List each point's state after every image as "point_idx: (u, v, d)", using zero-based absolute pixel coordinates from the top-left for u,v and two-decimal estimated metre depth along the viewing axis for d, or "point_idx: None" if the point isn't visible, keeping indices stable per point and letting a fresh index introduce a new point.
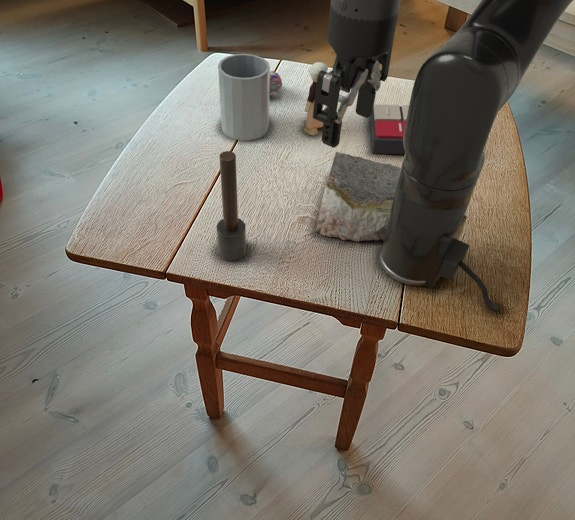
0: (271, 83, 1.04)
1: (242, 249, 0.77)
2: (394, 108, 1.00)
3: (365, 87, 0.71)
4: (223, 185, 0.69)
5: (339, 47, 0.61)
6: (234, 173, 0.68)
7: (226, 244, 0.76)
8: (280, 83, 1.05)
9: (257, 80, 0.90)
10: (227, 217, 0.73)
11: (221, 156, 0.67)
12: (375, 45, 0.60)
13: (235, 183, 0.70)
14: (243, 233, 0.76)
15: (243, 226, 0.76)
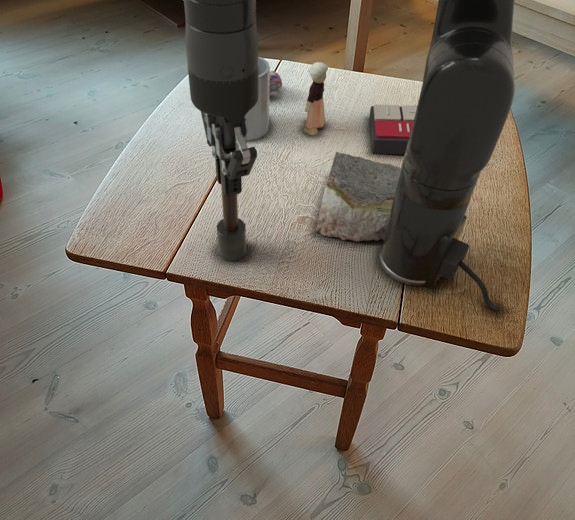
0: (271, 83, 1.04)
1: (242, 249, 0.77)
2: (394, 108, 1.00)
3: None
4: None
5: (231, 111, 0.58)
6: None
7: (226, 244, 0.76)
8: (280, 83, 1.05)
9: None
10: (227, 217, 0.73)
11: None
12: (257, 92, 0.60)
13: None
14: (243, 233, 0.75)
15: (243, 226, 0.76)
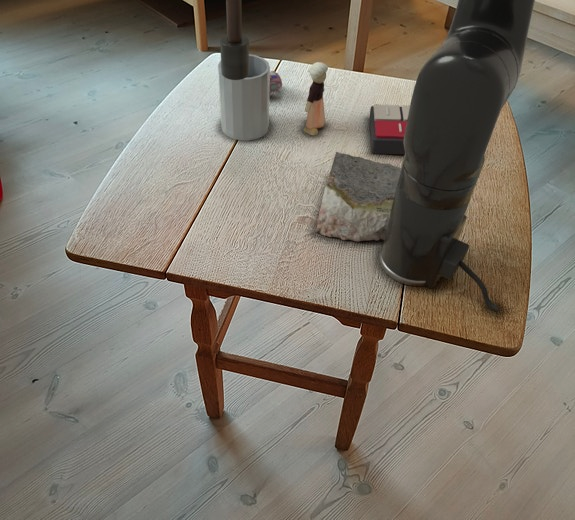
0: (271, 83, 1.04)
1: (245, 66, 0.78)
2: (394, 108, 1.00)
3: None
4: None
5: None
6: None
7: (230, 57, 0.76)
8: (280, 83, 1.05)
9: (257, 80, 0.90)
10: (231, 25, 0.74)
11: None
12: None
13: None
14: (247, 46, 0.76)
15: (246, 40, 0.76)
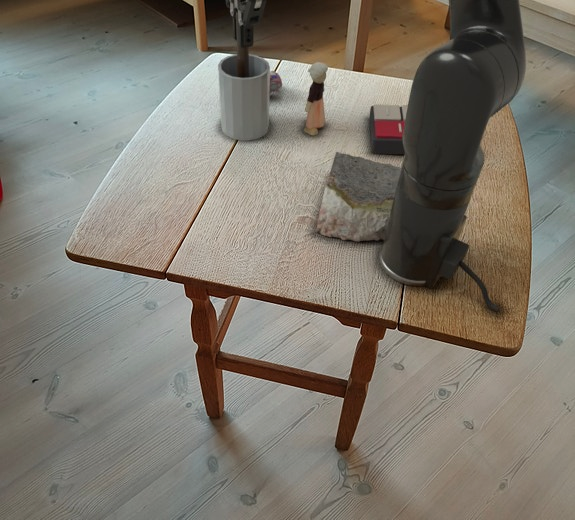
0: (271, 83, 1.04)
1: None
2: (394, 108, 1.00)
3: None
4: (238, 39, 0.88)
5: None
6: None
7: None
8: (280, 83, 1.05)
9: (257, 80, 0.90)
10: (240, 71, 0.92)
11: (237, 12, 0.85)
12: None
13: None
14: None
15: None
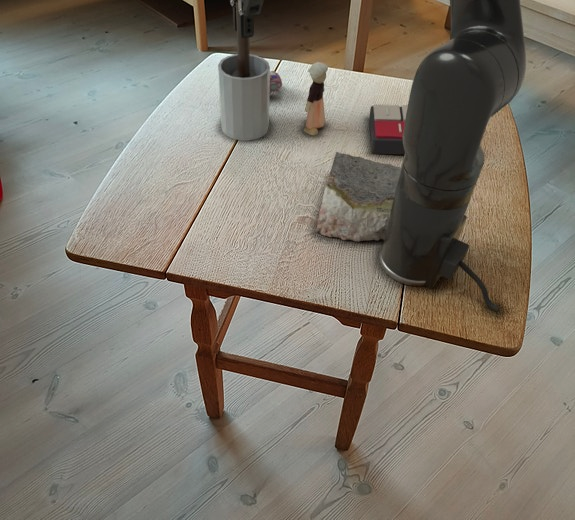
0: (271, 83, 1.04)
1: None
2: (394, 108, 1.00)
3: None
4: (238, 29, 0.87)
5: None
6: None
7: None
8: (280, 83, 1.05)
9: (257, 80, 0.90)
10: (241, 62, 0.91)
11: (237, 1, 0.84)
12: None
13: None
14: None
15: (254, 74, 0.93)
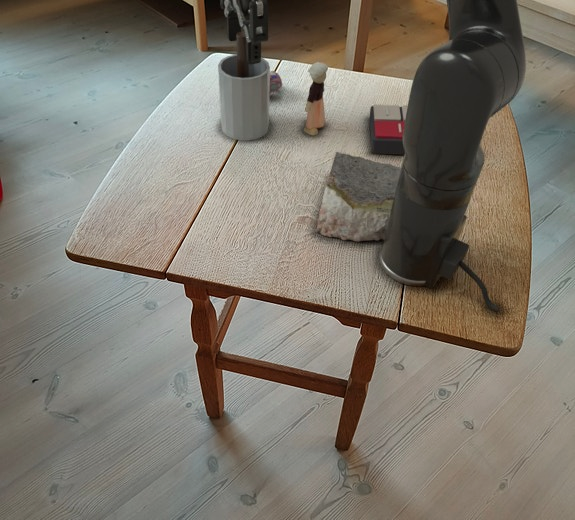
0: (271, 83, 1.04)
1: None
2: (394, 108, 1.00)
3: (232, 16, 0.90)
4: (238, 60, 0.90)
5: None
6: None
7: None
8: (280, 83, 1.05)
9: (257, 80, 0.90)
10: None
11: (237, 34, 0.88)
12: None
13: None
14: None
15: None
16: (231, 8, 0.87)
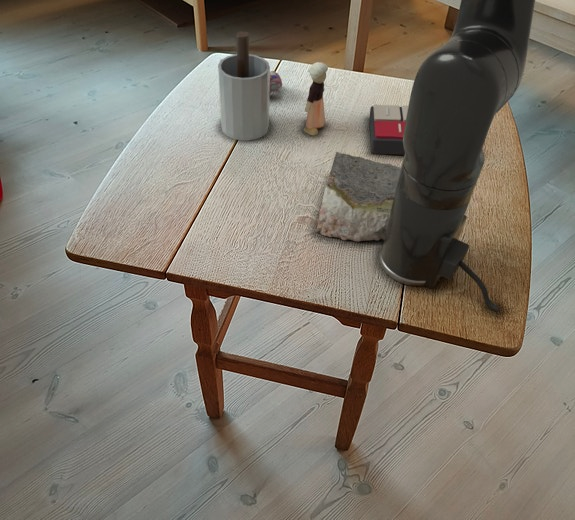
0: (271, 83, 1.04)
1: None
2: (394, 108, 1.00)
3: None
4: (238, 60, 0.90)
5: None
6: (247, 49, 0.89)
7: None
8: (280, 83, 1.05)
9: (257, 80, 0.90)
10: None
11: (237, 34, 0.88)
12: None
13: (248, 59, 0.91)
14: None
15: None
16: None
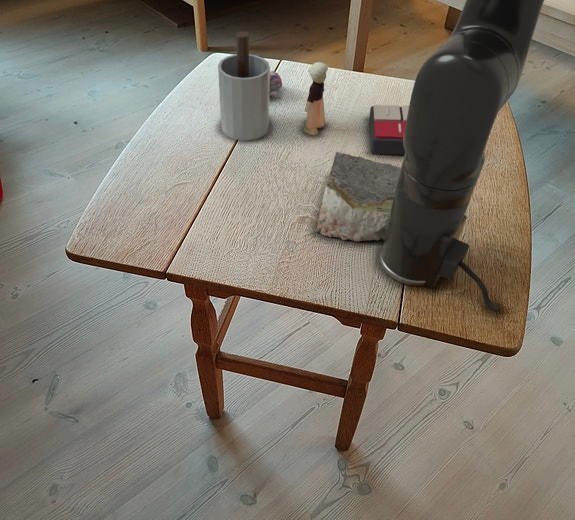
0: (271, 83, 1.04)
1: None
2: (394, 108, 1.00)
3: None
4: (238, 60, 0.90)
5: None
6: (247, 49, 0.89)
7: None
8: (280, 83, 1.05)
9: (257, 80, 0.90)
10: None
11: (237, 34, 0.88)
12: None
13: (248, 59, 0.91)
14: None
15: None
16: None
